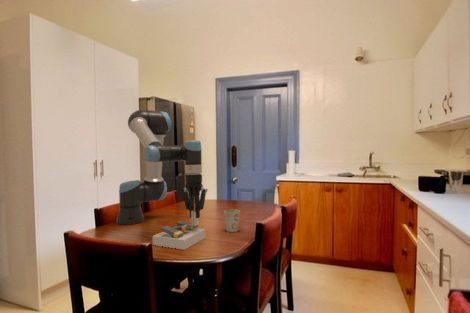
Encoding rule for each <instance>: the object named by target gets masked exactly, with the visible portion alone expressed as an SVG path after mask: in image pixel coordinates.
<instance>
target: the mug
mask: <svg viewBox="0 0 470 313" xmlns="http://www.w3.org/2000/svg"><path fill="white" fill-rule="evenodd" d="M223 214H224V222H225V229H226V231H227V232H228V233H237V232H238V231H239V228H240V219H241V210H239V209H233V208H232V209H225V210H224V211H223Z"/></svg>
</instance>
